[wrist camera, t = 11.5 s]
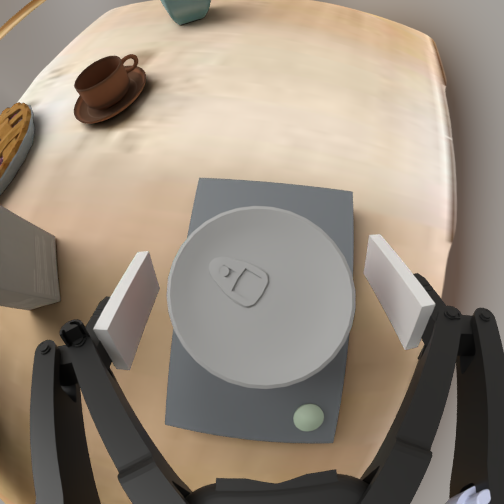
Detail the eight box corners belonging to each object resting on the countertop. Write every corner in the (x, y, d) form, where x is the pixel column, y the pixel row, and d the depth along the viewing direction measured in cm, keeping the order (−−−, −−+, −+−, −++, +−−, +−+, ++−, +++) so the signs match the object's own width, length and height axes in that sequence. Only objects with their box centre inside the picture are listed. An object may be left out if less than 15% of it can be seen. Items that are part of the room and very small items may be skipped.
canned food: (227, 251, 23) (198, 186, 12) (323, 277, 22) (372, 231, 11) (200, 342, 21) (142, 352, 11) (298, 370, 20) (330, 408, 10)
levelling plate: (175, 414, 22) (163, 425, 19) (205, 192, 28) (198, 175, 25) (325, 431, 21) (334, 444, 18) (344, 205, 27) (353, 189, 24)
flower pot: (217, 19, 38) (211, -19, 29) (172, 32, 37) (161, -5, 29) (204, 6, 40) (198, -26, 32) (164, 19, 40) (154, -14, 31)
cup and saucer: (111, 72, 35) (98, 48, 29) (164, 76, 34) (153, 45, 28) (66, 125, 33) (47, 101, 27) (116, 135, 31) (96, 106, 25)
